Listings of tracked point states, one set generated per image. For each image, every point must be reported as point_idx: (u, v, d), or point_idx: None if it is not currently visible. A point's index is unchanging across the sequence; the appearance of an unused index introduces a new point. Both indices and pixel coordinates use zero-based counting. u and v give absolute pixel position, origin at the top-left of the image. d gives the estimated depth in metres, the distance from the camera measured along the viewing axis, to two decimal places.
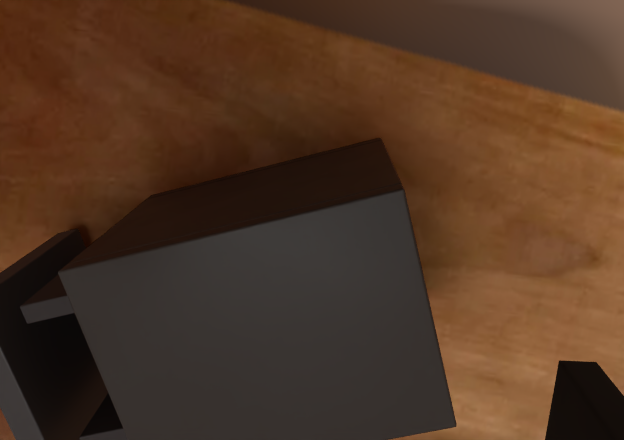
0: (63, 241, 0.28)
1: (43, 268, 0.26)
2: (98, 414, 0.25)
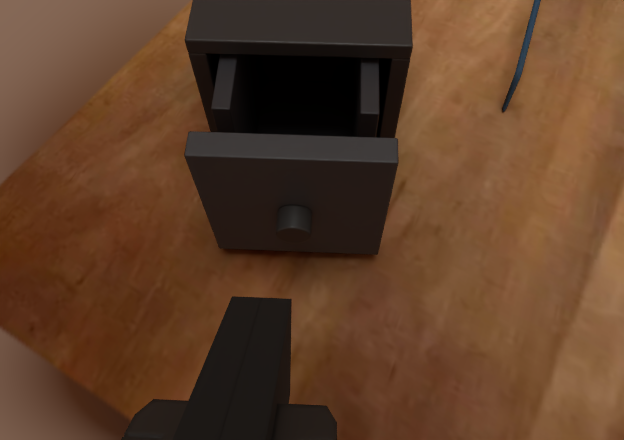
0: None
1: None
2: (358, 129, 0.25)
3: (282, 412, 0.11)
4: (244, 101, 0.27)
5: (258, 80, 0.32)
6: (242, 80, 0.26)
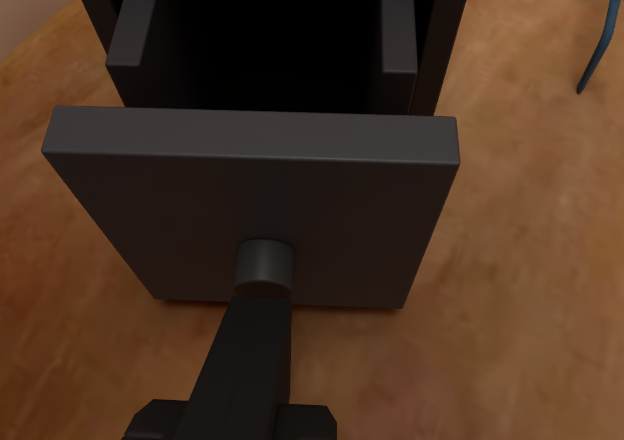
0: None
1: None
2: (376, 104, 0.14)
3: (282, 412, 0.11)
4: (184, 62, 0.16)
5: (218, 39, 0.21)
6: (177, 25, 0.16)
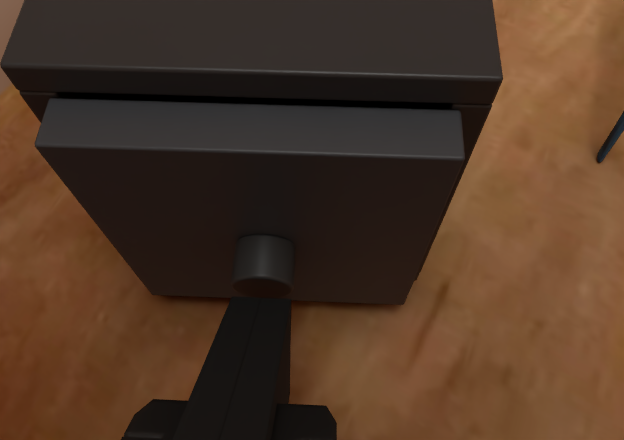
0: None
1: None
2: None
3: (282, 412, 0.11)
4: None
5: None
6: None
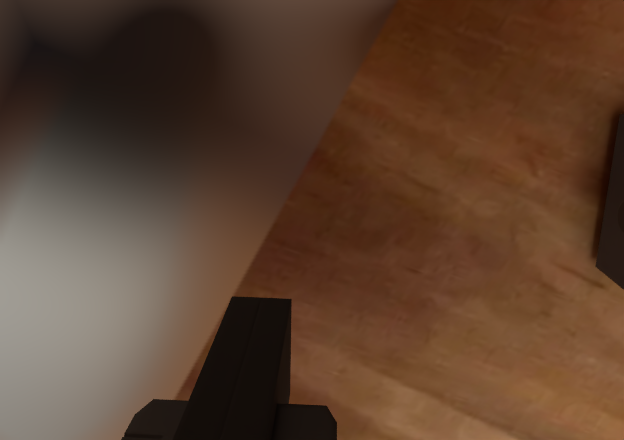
0: None
1: None
2: None
3: (282, 412, 0.11)
4: None
5: None
6: None
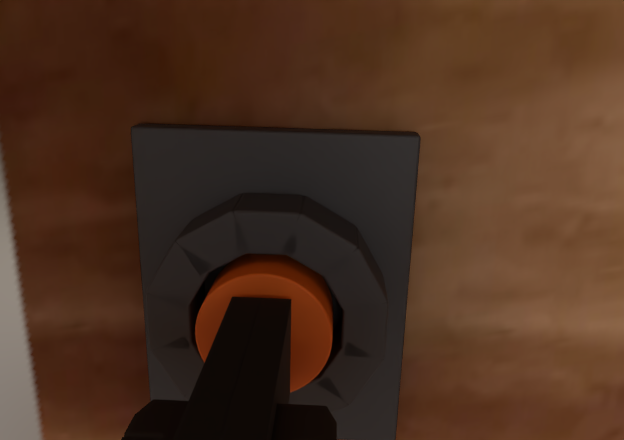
0: None
1: None
2: None
3: (282, 412, 0.11)
4: None
5: None
6: None
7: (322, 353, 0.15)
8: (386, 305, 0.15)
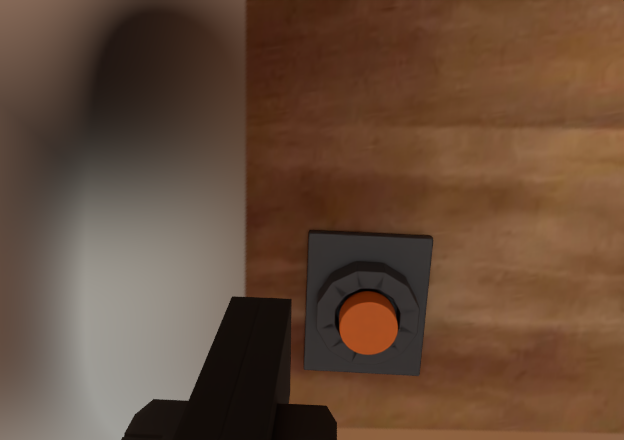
0: None
1: None
2: None
3: (282, 412, 0.11)
4: None
5: None
6: None
7: (393, 335, 0.35)
8: (418, 310, 0.36)
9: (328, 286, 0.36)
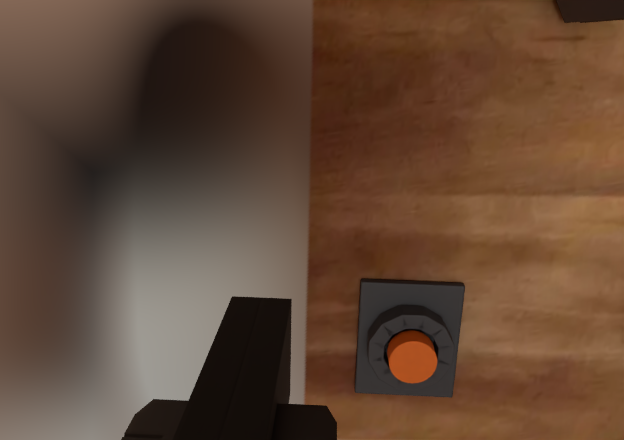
0: None
1: None
2: None
3: (282, 412, 0.11)
4: None
5: None
6: None
7: (433, 368, 0.42)
8: (453, 346, 0.43)
9: (378, 326, 0.43)
